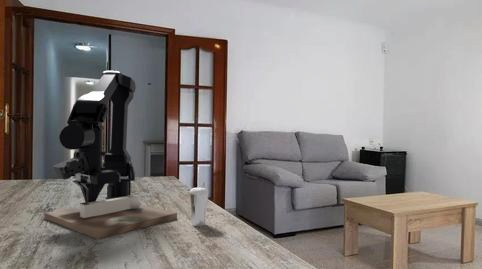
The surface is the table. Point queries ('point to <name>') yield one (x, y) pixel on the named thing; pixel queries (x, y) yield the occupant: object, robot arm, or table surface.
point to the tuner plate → (110, 220)
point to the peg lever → (109, 206)
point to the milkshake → (198, 205)
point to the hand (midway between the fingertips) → (89, 207)
